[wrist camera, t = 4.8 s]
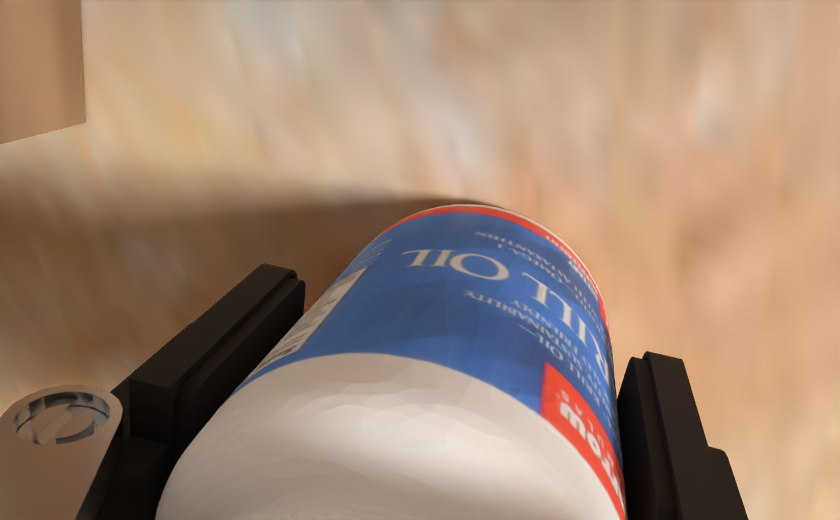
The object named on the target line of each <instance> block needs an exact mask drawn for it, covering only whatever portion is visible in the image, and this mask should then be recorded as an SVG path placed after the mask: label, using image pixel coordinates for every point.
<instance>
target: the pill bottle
mask: <svg viewBox="0 0 840 520" xmlns="http://www.w3.org/2000/svg"><path fill="white" fill-rule="evenodd" d="M616 398H617V397H616V388H615V379H614V364H613V354H612V341H611V332H610V326H609V321H608V316H607V312H606V308H605V305H604V302H603V299H602V296H601V294H600V292H599V289H598V287H597V285H596V283H595V281H594V279H593V278H592V276H591V274H590V272H589V271H588V269H587V268H586V266H585V265H584V264H583V262H582V261H581V260H580V258H579V257H578V256H577V255H576V254H575V253H574V251H573V250H572V249H571V248H570V247H569V246H568V245H567V244H566V243H565V242H563V241H562V240H561V239H560V238H559V237H558V236H556V235H555V234H554V233H552V232H551V231H550V230H549V229H547V228H545V227H544V226H542V225H540V224H539V223H537V222H535V221H533V220H531V219H529V218H527V217H525V216H522V215H520V214H517V213H515V212H512V211H509V210H506V209H502V208H497V207H493V206H486V205H475V204H455V205H447V206H439V207H435V208H431V209H427V210H423V211H421V212H418V213H415V214H413V215H410V216H408V217H406V218H404V219H402V220H400V221H398V222H397V223H395V224H393V225H392V226H390V227H388V228H387V229H385V230H384V231H383V232H382V233H380V234H379V235H378V236H376V237H375V238H374V239H373V240H372V241H371V242H370V243H369V244H368V245H367V246H366V247H365V248H364V249H363V250H362V251H361V252H360V253H359V254H358V255H357V256H356V257H355V258H354V259H353V260H352V262H351V263H350V264H349V265H348V266H347V268H346V269H345V270H344V271H343V272H342V273H341V274H340V276H339V277H338V278H337V279H336V280H335V281H334V282H333V283H332V284H331V286H330V287H329V288H328V289H327V290H326V291H325V292H324V293H323V294H322V296H321V297H320V298H319V299H318V300H317V301H316V302H315V303H314V304H313V305H312V306H311V307H310V309H309V310H308V311H307V312H306V313H305V314H304V315H303V316H302V317H301V318H300V319H299V320H298V322H297V323H296V324H295V325H294V326H293V327H292V328H291V329H290V330H289V331H288V333H287V334H286V335H285V336H284V337H283V338H282V339H281V340H280V341H279V343H278V344H277V345H276V346H275V347H274V348H273V349H272V350H271V351H270V353H269V354H268V355H267V356H266V357H265V358H264V359H263V360H262V362H261V363H260V364H259V365H258V366H257V367H256V368H255V370H254V371H253V372H252V373H251V374H250V375H249V376H247V378H246V379H245V380H244V381H243V382H242V383H241V384H240V385H239V386H238V387H237V388H236V390H235V391H234V392H233V393H232V394H231V395H230V396H229V397H228V399H227V400H226V401H225V402H224V403H223V405H222V406H221V407H220V408H219V409H218V410H217V411H216V413H215V414H214V415H213V417H212V418H211V419H210V420H209V422H208V423H207V424H206V425H205V426H204V427H203V429H202V430H201V431H200V432H199V434H198V435H197V436H196V437H195V438H194V440H193V441H192V442H191V444H190V445H189V446H188V447H187V449H186V450H185V451H184V453H183V454H182V456H181V457H180V459H179V460H178V462H177V463H176V465H175V467H174V469H173V471H172V473H171V475H170V476H169V479H168V481H167V483H166V486H165V488H164V490H163V493H162V495H161V498H160V501H159V504H158V507H157V512H156V517H155V520H628V514H627V504H626V495H625V483H624V475H623V457H622V449H621V442H620V430H619V421H618V413H617V399H616Z"/></svg>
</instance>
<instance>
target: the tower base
mask: <svg viewBox="0 0 840 520" xmlns="http://www.w3.org/2000/svg"><path fill="white" fill-rule="evenodd" d="M85 122H86V120H85V97H84V75H83V52H82V29H81V6H80V0H0V144H3V143H7V142H11V141H15V140H19V139H23V138H26V137H30V136H34V135H38V134H42V133H46V132H50V131H54V130H58V129H62V128H65V127H69V126H73V125H77V124H81V123H85Z"/></svg>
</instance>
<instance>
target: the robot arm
mask: <svg viewBox="0 0 840 520" xmlns="http://www.w3.org/2000/svg"><path fill="white" fill-rule="evenodd" d="M304 299H305V282H304V281H303V280H298V279H297V274H296V272H295V270H291V269H287V268H282V267H278V266H273V265H269V264H265V263H264V264H262V265H260V266H259V267H258V268H257V269H255V270H254V271H253V272H252V273H251V274H250V275H248V276H247V277H246V278H245V279H244V280H243V281H241V282H240V283H239V284H238V285H237V286H236V287H234V288H233V289H232V290H231V291H230V292H229V293H227V294H226V295H225V296H224V297H223V298H222V299H220V300H219V301H218V302H217V303H216V304H215V305H213V306H212V307H211V308H210V309H209V310H208V311H206V312H205V313H204V314H203V315H202V316H201V317H199V318H198V319H197V320H196V321H195V322H193V323H191V324H190V325H188V326H187V327H186V328H185V329H184V330H182V331H181V332H180V333H179V334H178V335H177V336H175V337H174V338H173V339H172V340H171V341H170V342H168V343H167V344H166V345H165V346H164V347H162V348H161V349H160V350H159V351H158V352H157V353H155V354H154V355H153V356H152V357H151V358H150V359H148V360H147V361H146V362H145V363H144V364H143V365H141V366H140V367H139V368H138V369H137V370H135V371H134V372H133V373H132V374H131V375H130V376H128V377H127V378H126V379H125V380H124V381H123V382H121V383H120V384H119V385H118V386H117V387H116V388H114V389H113V390H112V391H111V392H107V391H105V390H102V389H100V388H97V387H90V386H83V385H74V386H60V387H55V388H49V389H45V390H42V391H39V392H36V393H33V394H31V395H28V396H26V397H24V398H23V399H21V400H19V401H18V402H16V403H14V404H13V405H12V406H11V407H10V408H9V409H8V410H7V411H6V412H5V413H4V414H3V415H2V416H1V418H0V520H155V517H156V512H157V507H158V504H159V501H160V498H161V495H162V493H163V490H164V488H165V486H166V483H167V481H168V479H169V476H170V475H171V473H172V471H173V469H174V467H175V465H176V463H177V462H178V460H179V459H180V457H181V456H182V454H183V453H184V451H185V450H186V449H187V447H188V446H189V445H190V444H191V442H192V441H193V440H194V438H195V437H196V436H197V435H198V434H199V432H200V431H201V430H202V429H203V427H204V426H205V425H206V424H207V423H208V422H209V420H210V419H211V418H212V417H213V415H214V414H215V413H216V411H217V410H218V409H219V408H220V407H221V406H222V405H223V403H224V402H225V401H226V400H227V399H228V397H229V396H230V395H231V394H232V393H233V392H234V391H235V390H236V388H237V387H238V386H239V385H240V384H241V383H242V382H243V381H244V380H245V379H246V378H247V376H249V375H250V374H251V373H252V372H253V371H254V370H255V368H256V367H257V366H258V365H259V364H260V363H261V362H262V360H263V359H264V358H265V357H266V356H267V355H268V354H269V353H270V351H271V350H272V349H273V348H274V347H275V346H276V345H277V344H278V343H279V341H280V340H281V339H282V338H283V337H284V336H285V335H286V334H287V333H288V331H289V330H290V329H291V328H292V327H293V326H294V325H295V324H296V323H297V322H298V320H299V319H300V318H301V317H302V316H303V310H304ZM617 413H618V421H619V430H620V442H621V449H622V457H623V475H624V483H625V495H626V504H627V514H628V520H748V517H747V514H746V511H745V508H744V505H743V502H742V499H741V496H740V493H739V490H738V487H737V484H736V481H735V478H734V475H733V472H732V469H731V466H730V463H729V460H728V457H727V455H726V453H725V452H724V451H722V450H721V449H717V448H713V447H709V446H708V444H707V440H706V437H705V434H704V430H703V427H702V423H701V420H700V417H699V413H698V410H697V407H696V403H695V400H694V396H693V393H692V390H691V386H690V383H689V379H688V376H687V373H686V369H685V366H684V363H683V361H682V359H678V358H674V357H670V356H665V355H661V354H657V353H652V352H648V351H646V352H645V354H644V355H643V357H642V359H640V358H635V357H631V359H630V361H629V363H628V366H627V369H626V372H625V375H624V379H623V382H622V385H621V388H620V391H619V395H618V398H617Z"/></svg>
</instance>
